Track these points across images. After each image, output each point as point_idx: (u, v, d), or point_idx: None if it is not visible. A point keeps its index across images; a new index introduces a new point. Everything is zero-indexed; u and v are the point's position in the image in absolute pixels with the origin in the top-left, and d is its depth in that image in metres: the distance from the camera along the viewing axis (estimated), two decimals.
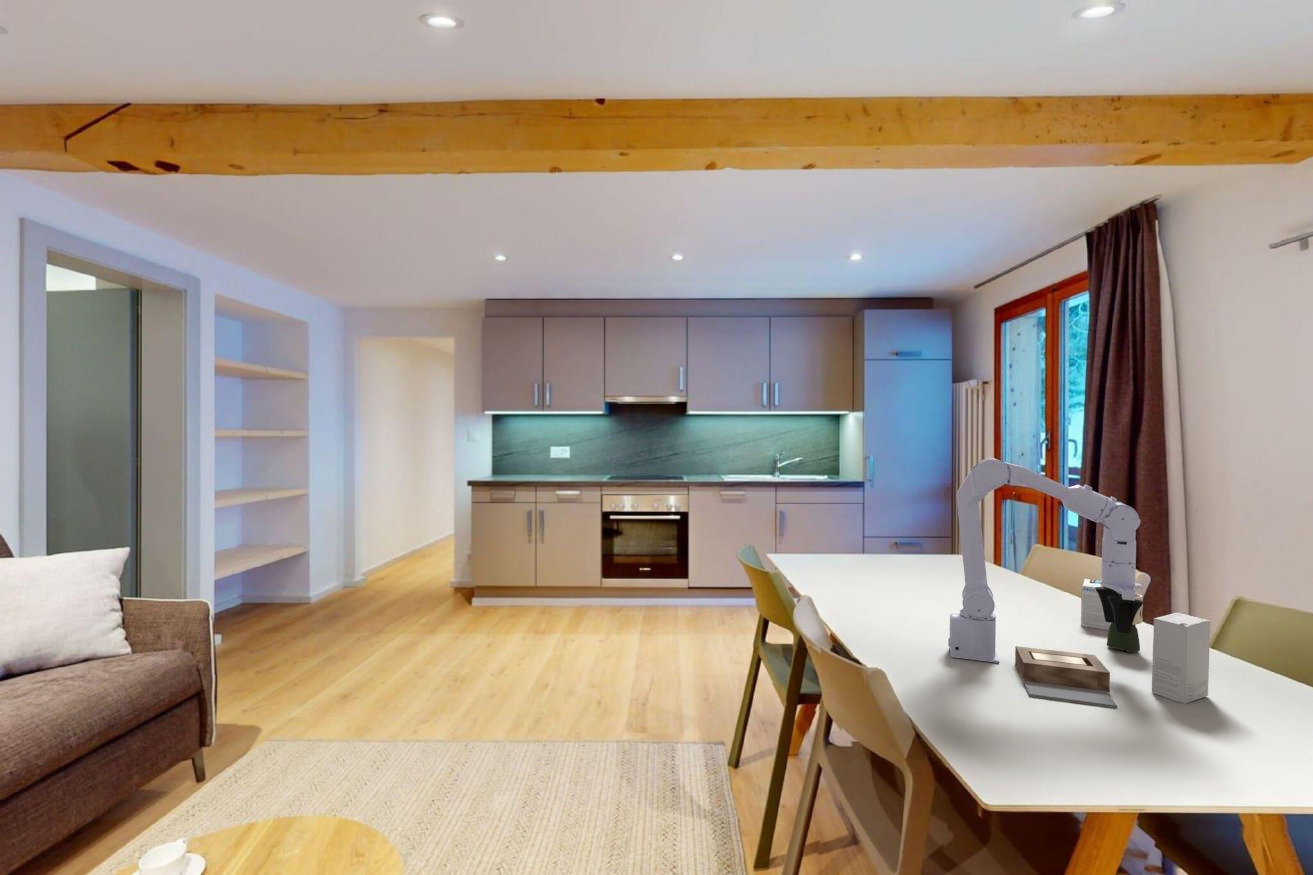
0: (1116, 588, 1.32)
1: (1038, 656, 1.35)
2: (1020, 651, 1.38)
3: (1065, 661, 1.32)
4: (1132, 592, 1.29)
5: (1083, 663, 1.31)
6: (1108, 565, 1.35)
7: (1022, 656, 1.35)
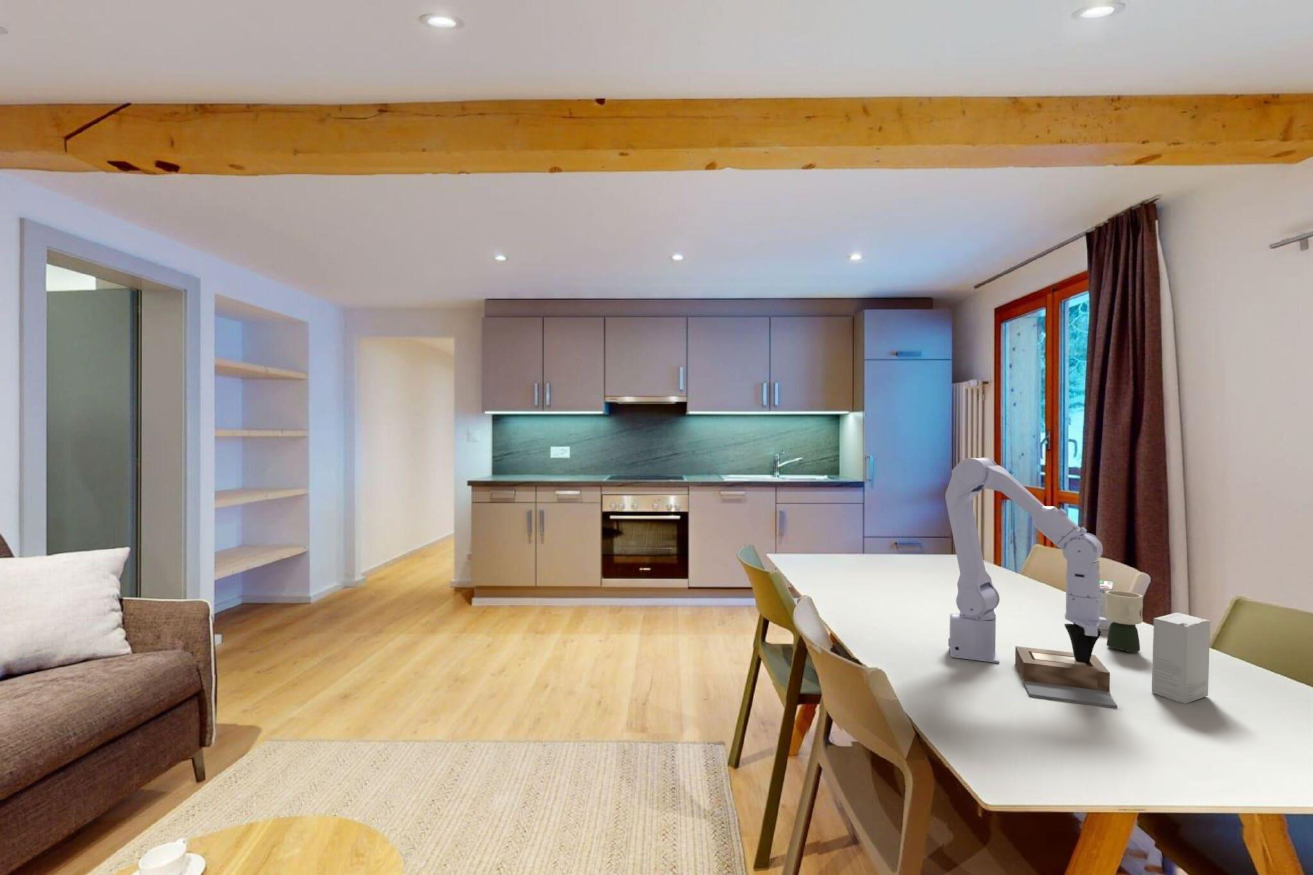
0: (1079, 623, 1.29)
1: (1038, 656, 1.35)
2: (1020, 651, 1.38)
3: (1065, 662, 1.32)
4: (1094, 628, 1.26)
5: (1083, 663, 1.31)
6: (1072, 599, 1.32)
7: (1022, 656, 1.35)
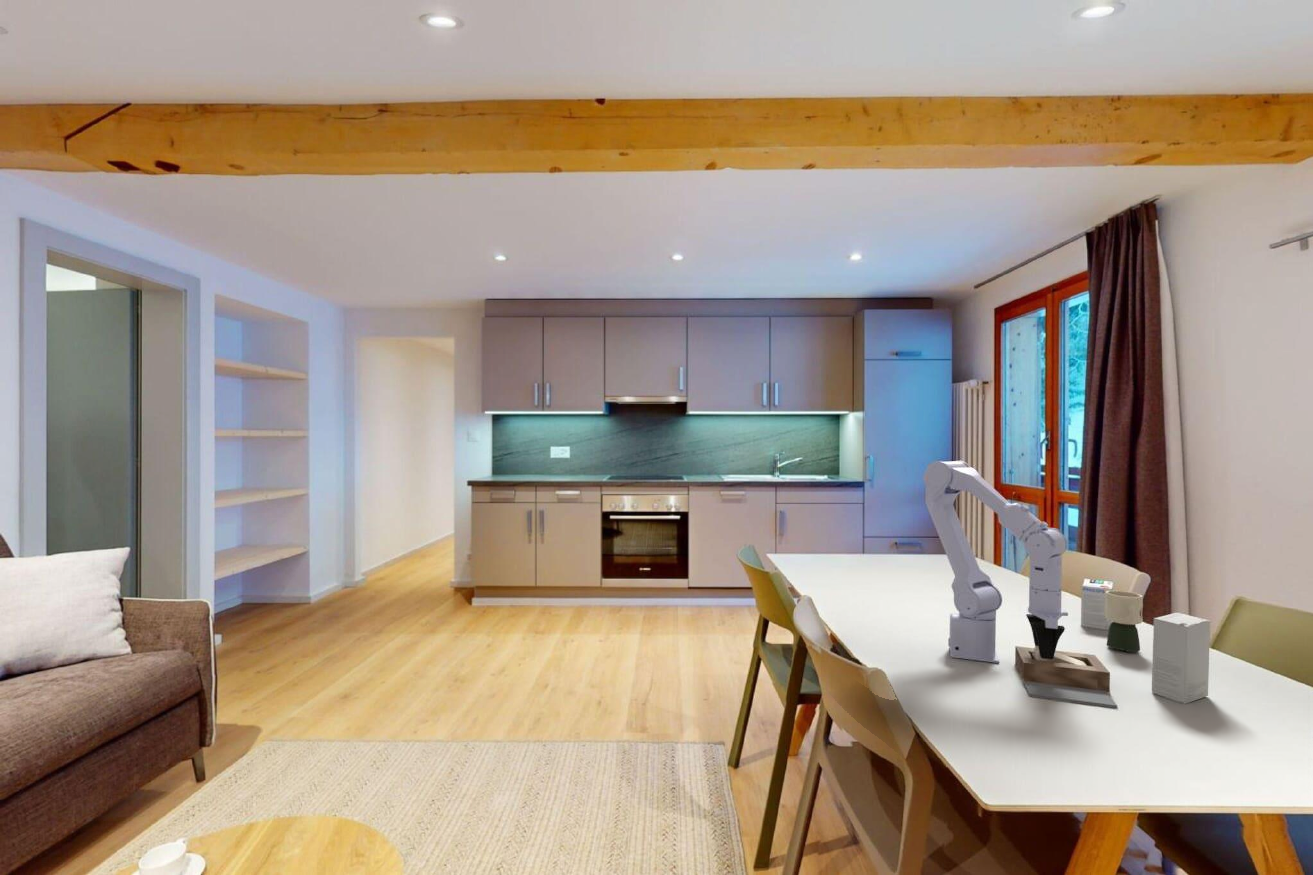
0: (1040, 616, 1.31)
1: None
2: (1020, 651, 1.38)
3: (1069, 661, 1.32)
4: (1055, 620, 1.28)
5: None
6: (1034, 592, 1.34)
7: (1022, 656, 1.35)
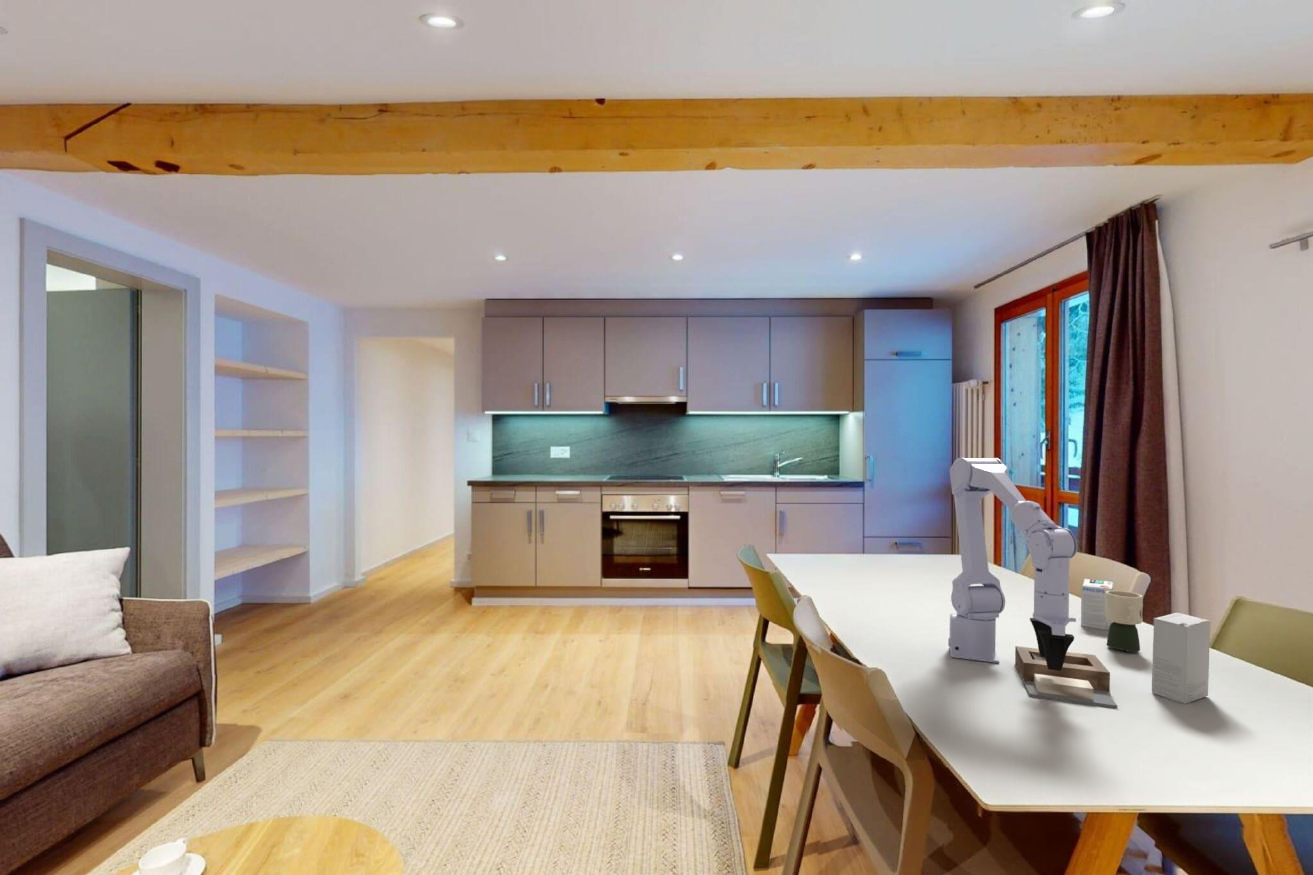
0: (1046, 622, 1.22)
1: (1041, 678, 1.26)
2: (1020, 651, 1.38)
3: (1070, 685, 1.23)
4: (1062, 627, 1.19)
5: (1089, 687, 1.22)
6: (1039, 596, 1.25)
7: (1022, 656, 1.35)
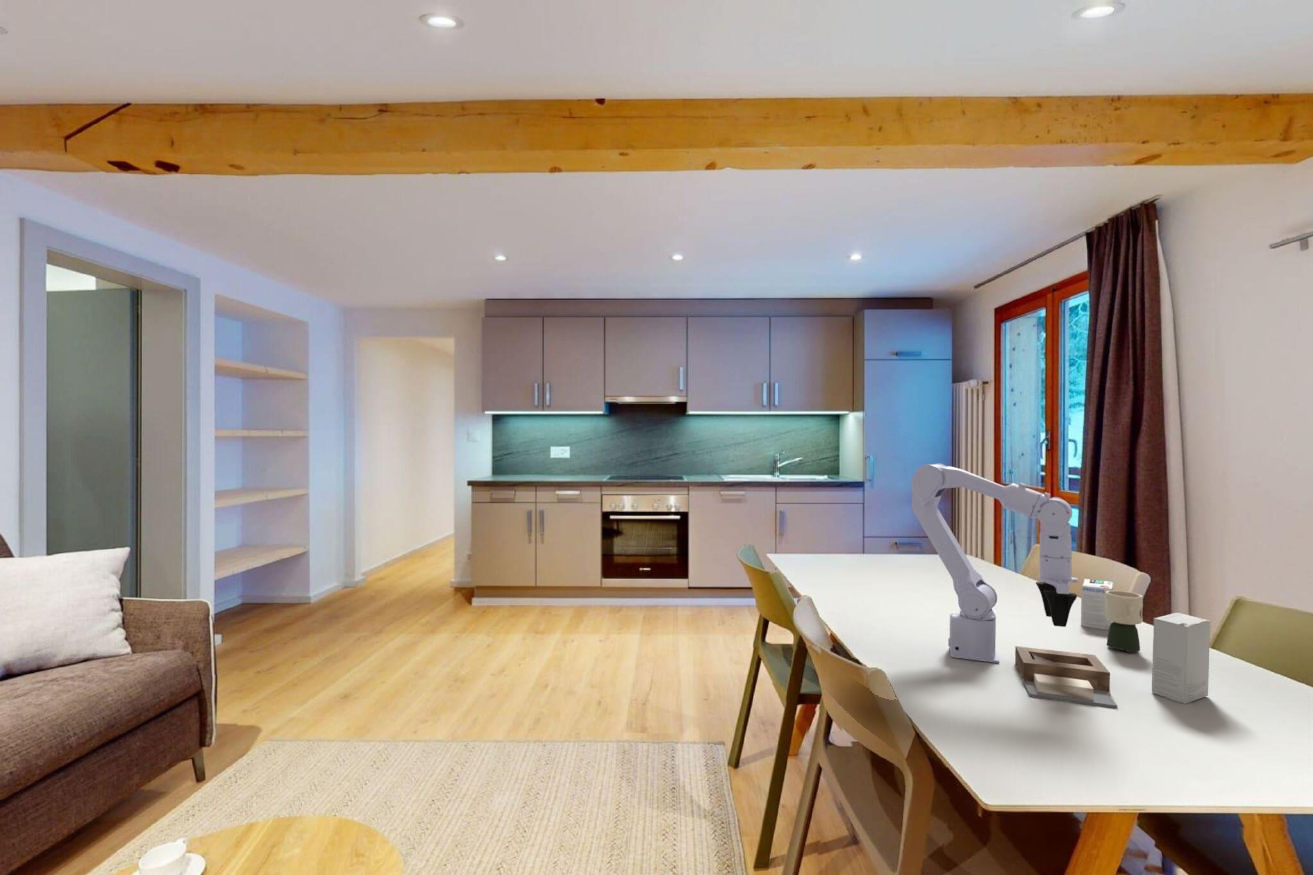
0: (1051, 582, 1.34)
1: (1041, 678, 1.26)
2: (1020, 651, 1.38)
3: (1070, 685, 1.23)
4: (1065, 586, 1.31)
5: (1089, 687, 1.22)
6: (1044, 560, 1.37)
7: (1022, 656, 1.35)
